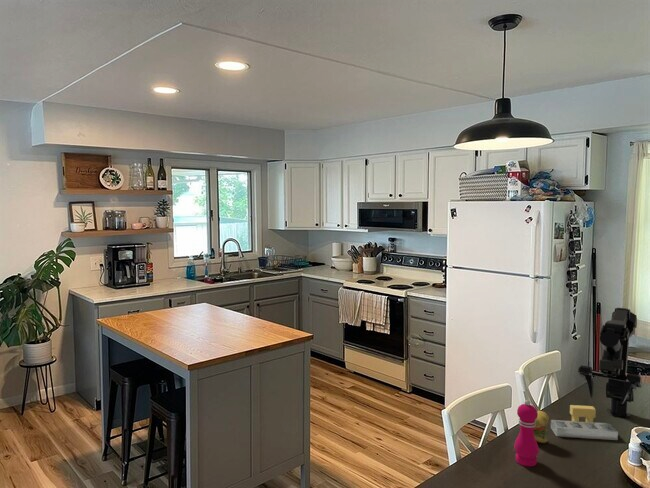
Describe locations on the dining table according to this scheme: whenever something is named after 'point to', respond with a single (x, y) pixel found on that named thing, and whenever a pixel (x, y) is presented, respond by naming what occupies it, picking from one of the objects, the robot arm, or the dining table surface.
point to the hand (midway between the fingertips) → (606, 400)
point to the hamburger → (541, 427)
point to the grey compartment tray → (584, 429)
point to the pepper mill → (526, 435)
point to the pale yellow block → (582, 412)
